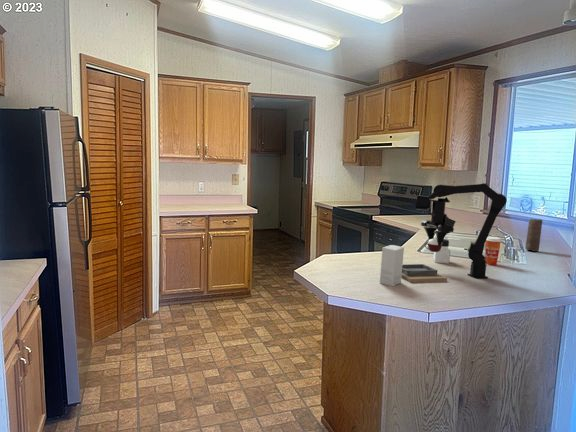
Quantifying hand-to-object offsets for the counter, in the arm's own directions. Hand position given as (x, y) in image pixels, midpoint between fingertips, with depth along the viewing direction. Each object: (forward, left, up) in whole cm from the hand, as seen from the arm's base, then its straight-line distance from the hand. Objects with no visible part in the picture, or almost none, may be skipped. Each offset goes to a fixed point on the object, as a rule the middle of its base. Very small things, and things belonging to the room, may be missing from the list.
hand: (435, 243), depth 207 cm
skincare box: (-18, +31, -13) cm, 38 cm away
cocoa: (0, 0, -4) cm, 4 cm away
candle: (+39, -94, -13) cm, 102 cm away
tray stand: (-7, +13, -13) cm, 20 cm away
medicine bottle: (+17, -16, -13) cm, 27 cm away
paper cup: (+10, -41, -13) cm, 44 cm away
